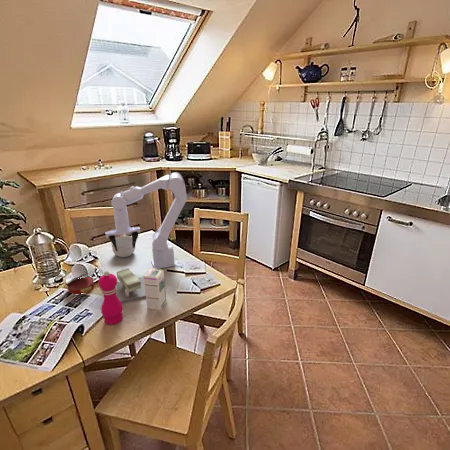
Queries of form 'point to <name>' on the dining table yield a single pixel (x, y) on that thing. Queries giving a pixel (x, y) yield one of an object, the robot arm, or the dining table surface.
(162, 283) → the syrup box
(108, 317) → the pepper mill
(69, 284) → the canned food
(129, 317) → the dining table surface
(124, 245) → the teacup
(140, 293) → the peg stand
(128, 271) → the pale green block
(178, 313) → the dining table surface
